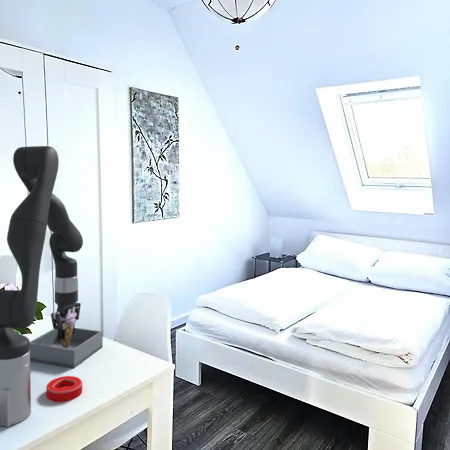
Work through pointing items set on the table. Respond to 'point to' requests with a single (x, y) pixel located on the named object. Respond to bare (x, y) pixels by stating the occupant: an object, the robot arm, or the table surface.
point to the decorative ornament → (64, 389)
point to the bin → (68, 357)
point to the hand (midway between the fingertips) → (66, 336)
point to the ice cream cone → (68, 328)
